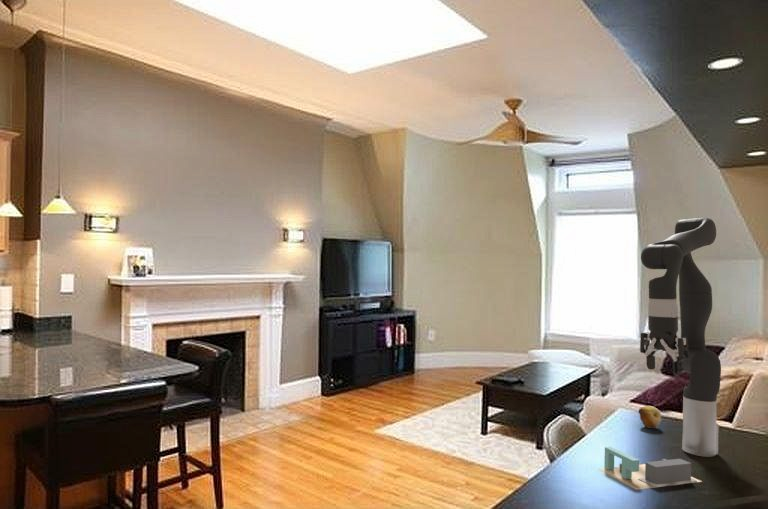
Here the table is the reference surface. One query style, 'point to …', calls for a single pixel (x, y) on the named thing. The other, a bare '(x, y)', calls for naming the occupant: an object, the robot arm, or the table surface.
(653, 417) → the fruit
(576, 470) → the table surface
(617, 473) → the board
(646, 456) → the table surface
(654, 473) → the grey block
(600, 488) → the table surface
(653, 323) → the robot arm
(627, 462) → the green bracket
